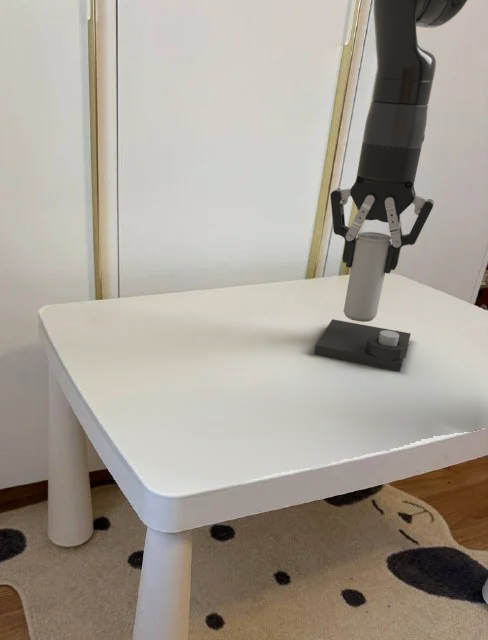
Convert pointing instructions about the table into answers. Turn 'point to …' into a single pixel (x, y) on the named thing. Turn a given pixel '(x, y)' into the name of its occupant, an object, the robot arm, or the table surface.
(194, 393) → the table surface
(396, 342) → the button
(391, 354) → the scale
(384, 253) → the beverage can
